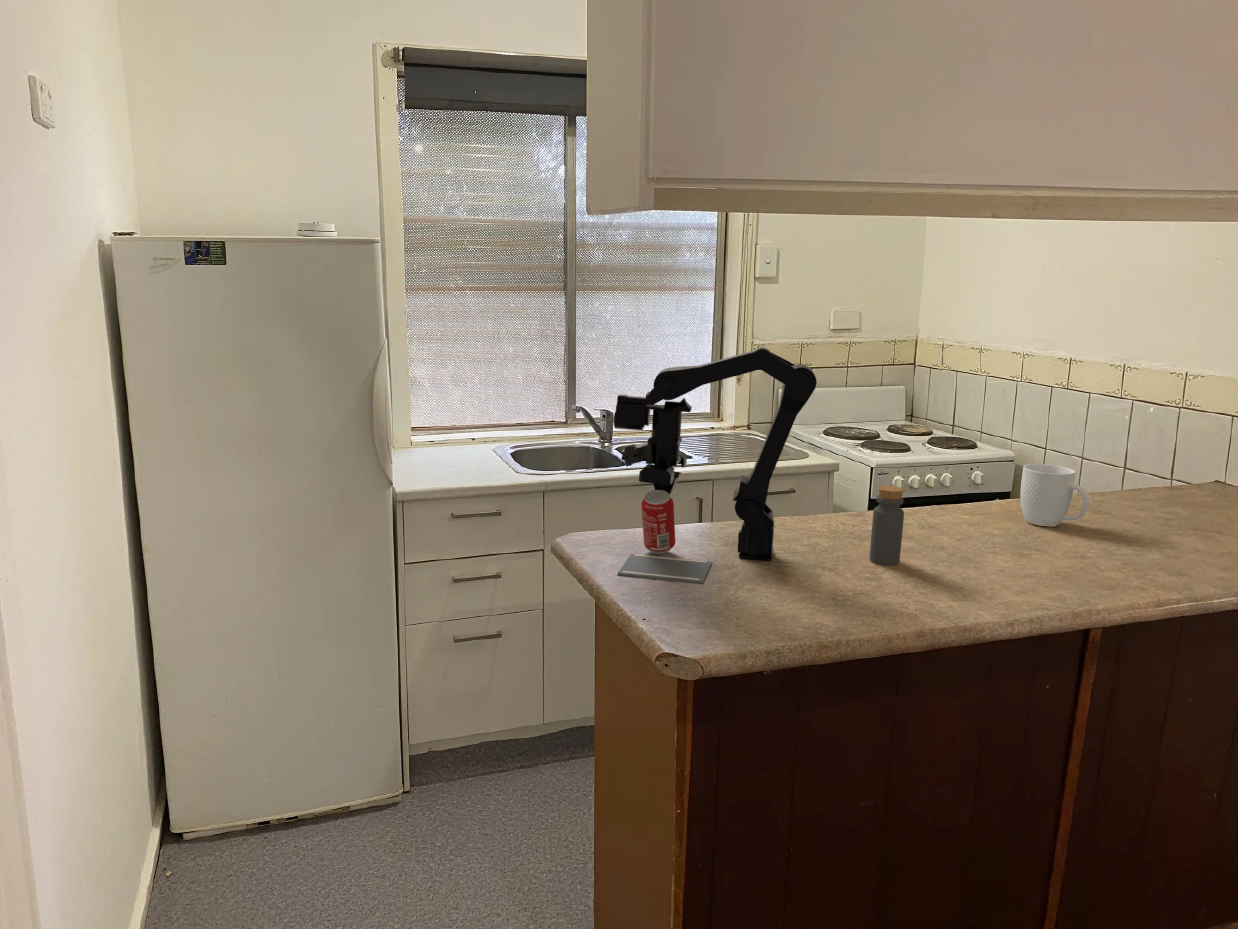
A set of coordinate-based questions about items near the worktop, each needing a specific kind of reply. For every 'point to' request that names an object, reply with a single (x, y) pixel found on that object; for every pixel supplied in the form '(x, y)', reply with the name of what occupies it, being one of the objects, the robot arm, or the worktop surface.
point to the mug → (1049, 494)
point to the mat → (665, 568)
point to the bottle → (887, 527)
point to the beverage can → (658, 521)
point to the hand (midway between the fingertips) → (661, 508)
